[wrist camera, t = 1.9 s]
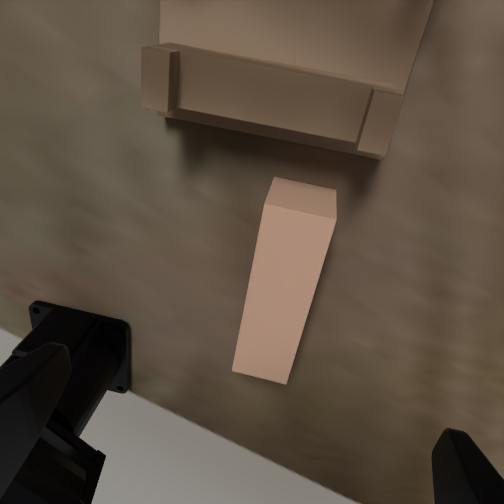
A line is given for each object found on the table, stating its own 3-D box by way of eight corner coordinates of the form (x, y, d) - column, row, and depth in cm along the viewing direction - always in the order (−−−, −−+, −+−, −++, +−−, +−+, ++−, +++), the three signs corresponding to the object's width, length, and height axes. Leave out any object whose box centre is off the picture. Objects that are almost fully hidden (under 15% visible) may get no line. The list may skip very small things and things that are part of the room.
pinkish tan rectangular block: (292, 339, 25) (286, 384, 22) (244, 328, 25) (231, 370, 22) (336, 188, 19) (336, 219, 16) (274, 174, 20) (264, 203, 17)
